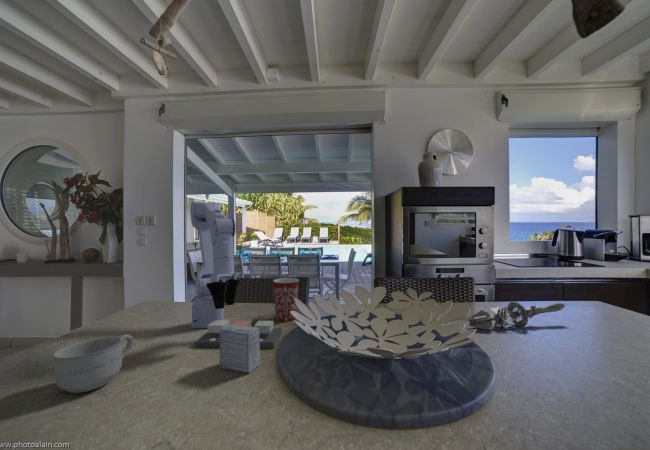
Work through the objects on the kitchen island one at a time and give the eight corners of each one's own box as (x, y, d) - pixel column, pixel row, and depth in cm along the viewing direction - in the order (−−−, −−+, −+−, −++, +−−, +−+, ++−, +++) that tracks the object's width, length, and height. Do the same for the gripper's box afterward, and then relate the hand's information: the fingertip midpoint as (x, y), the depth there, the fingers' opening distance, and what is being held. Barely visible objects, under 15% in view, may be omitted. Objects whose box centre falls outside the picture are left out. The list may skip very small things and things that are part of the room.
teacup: (64, 407, 50) (64, 361, 50) (43, 389, 56) (44, 348, 56) (148, 373, 62) (148, 336, 62) (124, 361, 68) (124, 327, 68)
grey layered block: (260, 365, 66) (260, 327, 66) (249, 374, 61) (249, 333, 62) (231, 360, 68) (231, 323, 68) (218, 368, 64) (218, 329, 64)
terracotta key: (230, 332, 79) (230, 325, 79) (236, 327, 83) (236, 320, 83) (246, 333, 79) (246, 325, 79) (251, 327, 83) (251, 320, 83)
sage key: (254, 333, 79) (254, 325, 79) (258, 327, 83) (258, 320, 83) (270, 333, 78) (270, 325, 79) (273, 327, 83) (273, 320, 83)
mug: (299, 321, 97) (299, 281, 97) (272, 322, 96) (272, 282, 96) (298, 311, 109) (298, 276, 110) (274, 312, 108) (274, 276, 109)
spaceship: (579, 303, 89) (556, 288, 97) (479, 320, 84) (462, 304, 91) (572, 323, 92) (550, 308, 99) (475, 341, 87) (459, 324, 94)
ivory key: (207, 332, 79) (207, 325, 79) (214, 327, 84) (214, 320, 84) (223, 332, 79) (223, 325, 79) (229, 327, 83) (229, 320, 83)
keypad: (195, 347, 76) (195, 340, 76) (213, 332, 87) (213, 326, 87) (273, 348, 75) (273, 341, 75) (281, 333, 86) (281, 327, 86)
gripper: (227, 256, 76) (229, 309, 74) (244, 258, 90) (246, 302, 88) (201, 259, 76) (202, 311, 74) (222, 260, 91) (224, 304, 89)
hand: (225, 306), depth 81 cm, fingers open, 7 cm apart
